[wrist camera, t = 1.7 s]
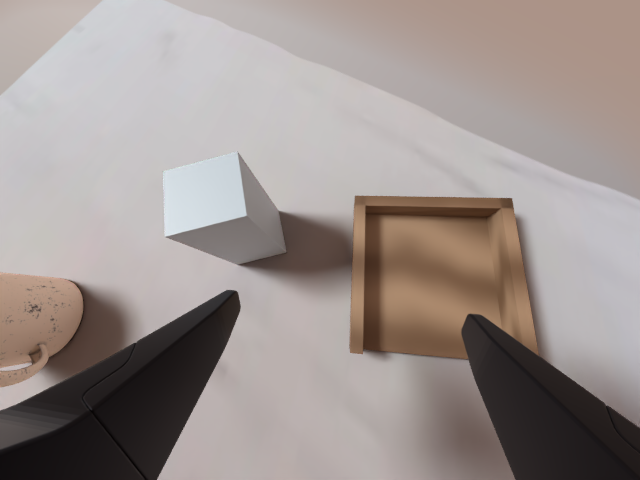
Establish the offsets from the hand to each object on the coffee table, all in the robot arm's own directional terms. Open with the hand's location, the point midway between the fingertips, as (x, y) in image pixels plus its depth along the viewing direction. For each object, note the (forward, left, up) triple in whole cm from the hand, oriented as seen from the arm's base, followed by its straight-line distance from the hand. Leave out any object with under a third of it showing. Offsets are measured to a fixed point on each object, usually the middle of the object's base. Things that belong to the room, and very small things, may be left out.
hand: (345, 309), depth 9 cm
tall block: (-5, +11, -14) cm, 18 cm away
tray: (+8, -1, -14) cm, 16 cm away
